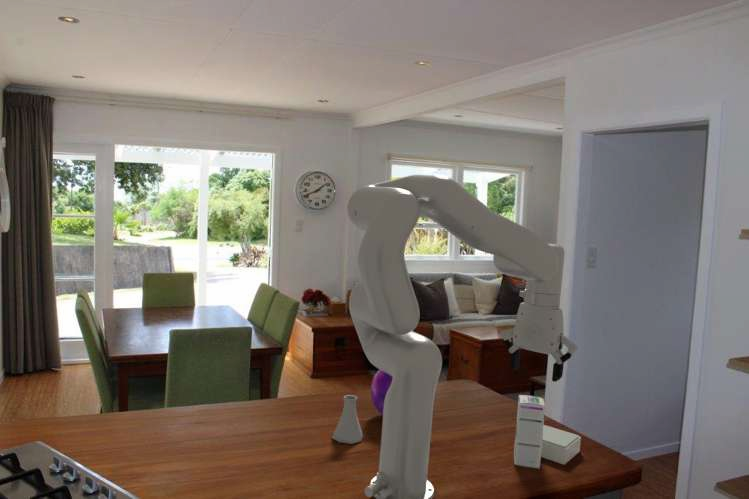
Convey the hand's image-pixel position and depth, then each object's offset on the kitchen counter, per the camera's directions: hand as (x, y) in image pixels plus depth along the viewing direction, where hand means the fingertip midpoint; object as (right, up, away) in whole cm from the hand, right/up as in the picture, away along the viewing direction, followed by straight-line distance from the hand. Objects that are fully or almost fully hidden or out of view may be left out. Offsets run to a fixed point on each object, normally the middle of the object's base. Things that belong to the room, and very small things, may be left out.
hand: (535, 375), depth 136 cm
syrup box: (-2, -20, +2) cm, 20 cm away
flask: (-42, -17, +8) cm, 46 cm away
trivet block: (+6, -20, +9) cm, 22 cm away
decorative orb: (-30, -16, +22) cm, 41 cm away
